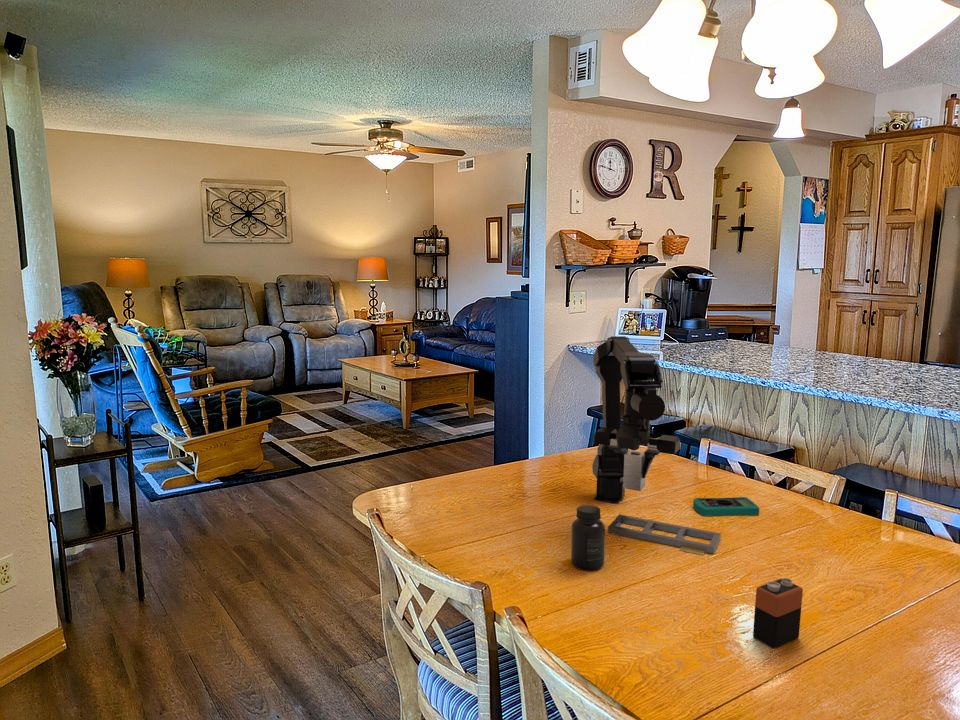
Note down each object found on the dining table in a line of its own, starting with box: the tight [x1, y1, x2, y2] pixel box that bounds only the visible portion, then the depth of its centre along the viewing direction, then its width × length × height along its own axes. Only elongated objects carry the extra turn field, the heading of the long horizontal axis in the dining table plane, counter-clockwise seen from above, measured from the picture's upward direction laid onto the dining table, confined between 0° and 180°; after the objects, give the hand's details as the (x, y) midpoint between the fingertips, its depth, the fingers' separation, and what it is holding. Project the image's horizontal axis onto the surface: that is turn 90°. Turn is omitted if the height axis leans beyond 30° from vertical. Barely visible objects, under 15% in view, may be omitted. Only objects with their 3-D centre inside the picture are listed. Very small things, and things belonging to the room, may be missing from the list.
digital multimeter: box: [692, 496, 760, 517], centre depth 171 cm, size 7×15×3 cm, turn 94°
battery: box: [752, 577, 804, 649], centre depth 114 cm, size 4×7×10 cm, turn 121°
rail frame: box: [607, 513, 722, 556], centre depth 155 cm, size 23×10×2 cm, turn 62°
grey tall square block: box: [623, 449, 646, 492], centre depth 157 cm, size 4×4×8 cm
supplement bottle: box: [570, 504, 606, 571], centre depth 140 cm, size 7×7×12 cm
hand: (634, 476), depth 157 cm, fingers closed on grey tall square block, 4 cm apart
